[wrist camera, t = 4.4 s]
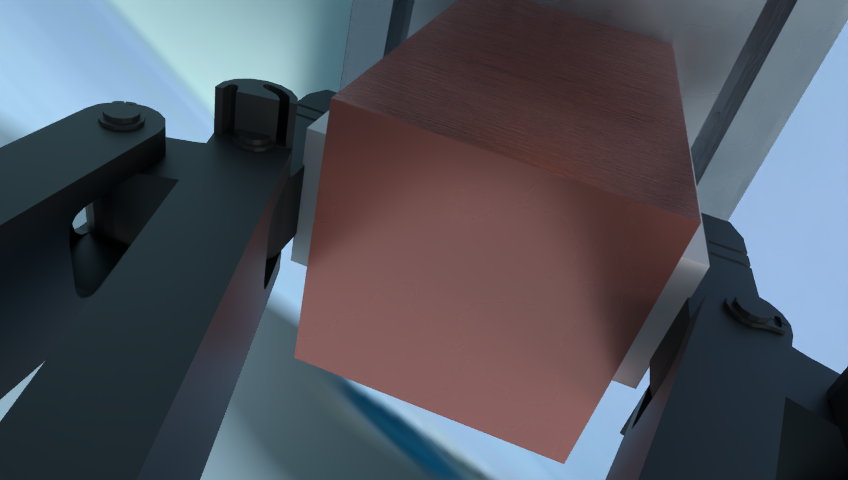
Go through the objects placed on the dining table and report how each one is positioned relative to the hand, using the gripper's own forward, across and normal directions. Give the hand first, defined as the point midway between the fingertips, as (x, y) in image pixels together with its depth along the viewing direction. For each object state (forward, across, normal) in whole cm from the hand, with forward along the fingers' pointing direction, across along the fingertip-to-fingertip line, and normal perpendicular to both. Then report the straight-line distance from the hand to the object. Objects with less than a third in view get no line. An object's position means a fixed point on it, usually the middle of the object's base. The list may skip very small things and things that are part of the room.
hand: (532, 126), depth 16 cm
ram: (+3, 0, +1) cm, 4 cm away
